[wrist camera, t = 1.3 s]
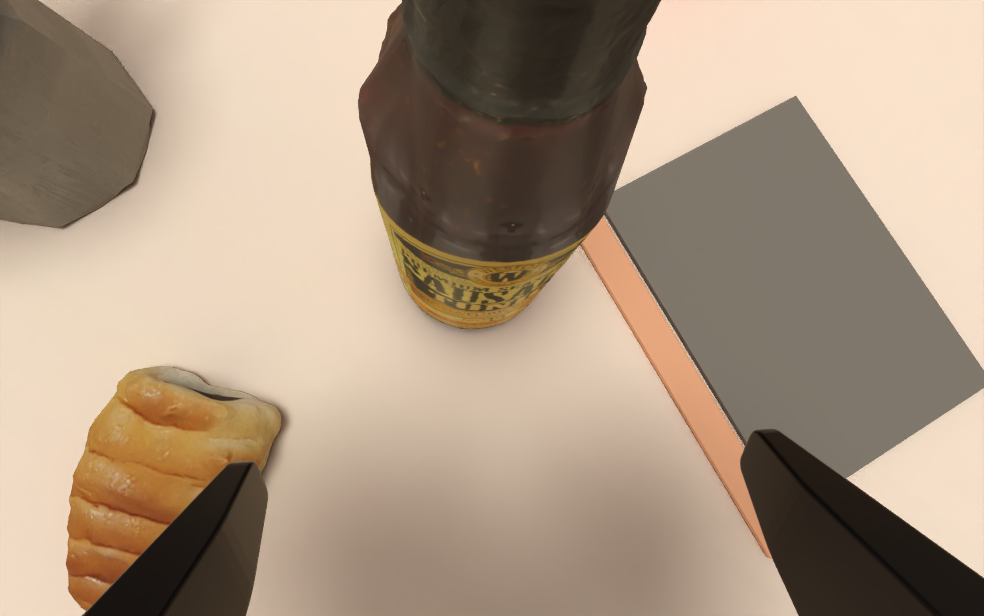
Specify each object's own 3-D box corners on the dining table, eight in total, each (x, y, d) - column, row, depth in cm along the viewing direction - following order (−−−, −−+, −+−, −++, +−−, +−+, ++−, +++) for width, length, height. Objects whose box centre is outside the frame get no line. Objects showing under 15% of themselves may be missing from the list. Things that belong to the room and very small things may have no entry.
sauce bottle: (407, 340, 23) (111, 10, 4) (397, 205, 24) (127, -626, 5) (554, 327, 24) (1007, -28, 4) (539, 195, 25) (838, -597, 5)
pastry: (215, 632, 21) (160, 683, 17) (53, 583, 21) (-38, 623, 17) (297, 402, 23) (264, 402, 19) (147, 357, 23) (83, 348, 19)
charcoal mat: (985, 382, 24) (992, 382, 24) (786, 513, 23) (790, 514, 22) (792, 99, 26) (795, 95, 26) (596, 201, 25) (598, 199, 24)
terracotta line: (794, 537, 23) (799, 539, 22) (766, 556, 22) (770, 558, 22) (498, 49, 26) (499, 45, 25) (472, 62, 26) (472, 58, 25)
